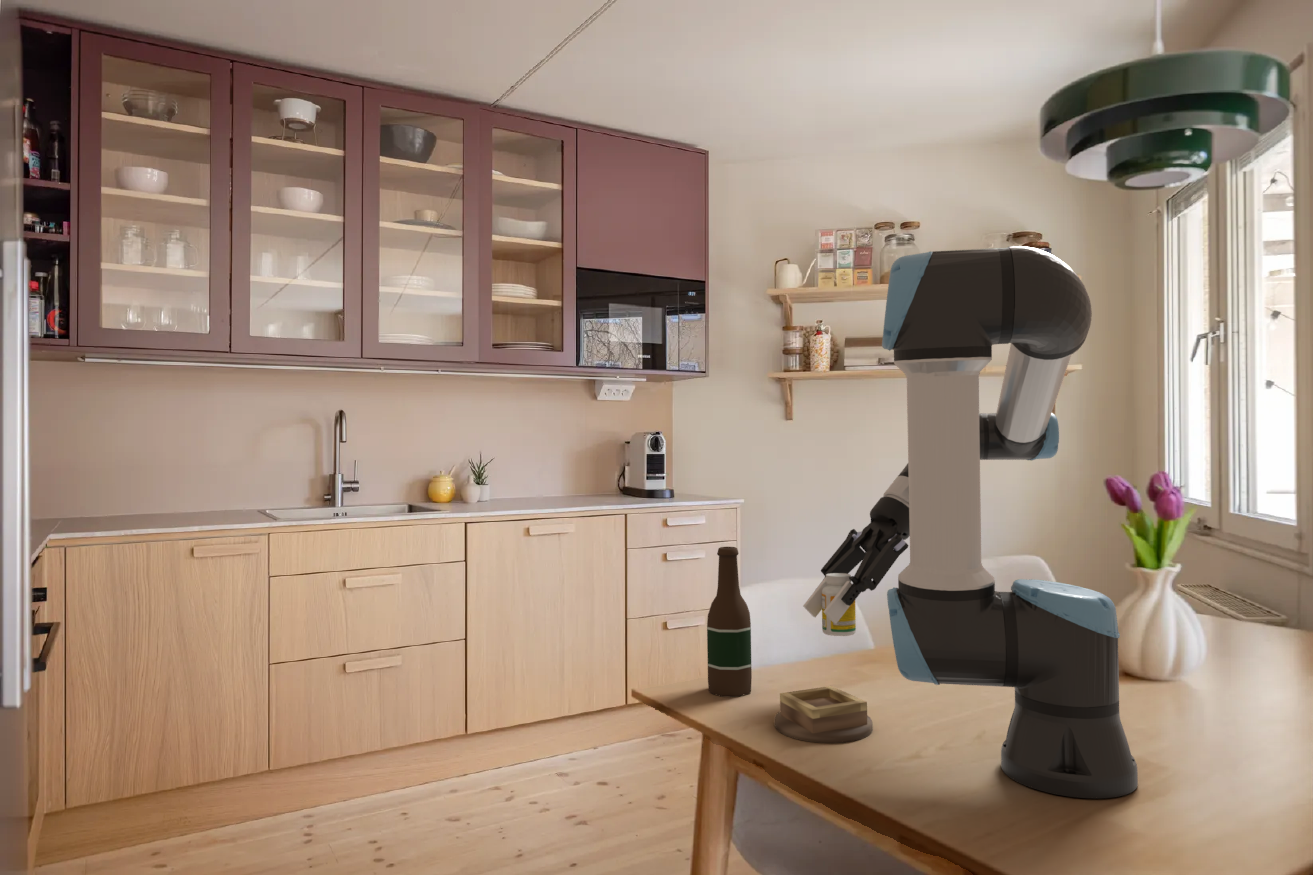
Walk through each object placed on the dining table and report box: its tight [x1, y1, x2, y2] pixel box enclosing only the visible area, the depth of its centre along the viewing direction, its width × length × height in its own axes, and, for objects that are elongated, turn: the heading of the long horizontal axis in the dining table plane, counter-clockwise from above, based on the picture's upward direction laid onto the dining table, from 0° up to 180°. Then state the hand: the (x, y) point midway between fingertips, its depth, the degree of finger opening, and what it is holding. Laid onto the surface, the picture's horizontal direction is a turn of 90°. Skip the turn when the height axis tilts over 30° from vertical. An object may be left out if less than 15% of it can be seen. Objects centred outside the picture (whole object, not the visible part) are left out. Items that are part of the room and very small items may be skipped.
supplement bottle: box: [821, 573, 857, 637], centre depth 141 cm, size 5×5×10 cm
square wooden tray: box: [774, 685, 874, 744], centre depth 126 cm, size 14×14×4 cm
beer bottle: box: [706, 546, 753, 697], centre depth 145 cm, size 8×8×24 cm
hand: (819, 614), depth 140 cm, fingers closed on supplement bottle, 5 cm apart
